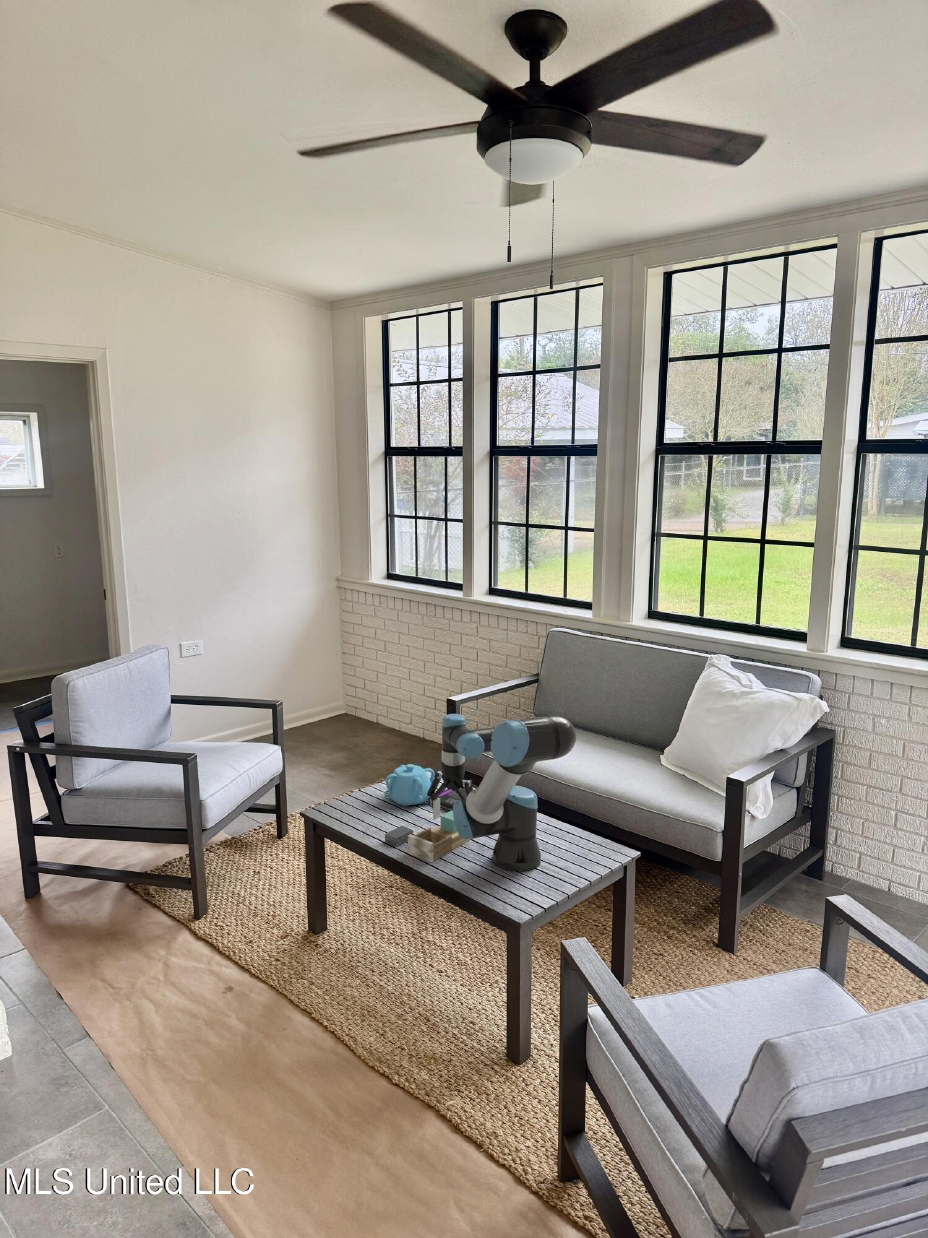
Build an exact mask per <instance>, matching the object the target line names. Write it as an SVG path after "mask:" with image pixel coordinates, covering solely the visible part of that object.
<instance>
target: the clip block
mask: <svg viewBox="0 0 928 1238" xmlns="http://www.w3.org/2000/svg"><path fill="white" fill-rule="evenodd" d="M439 826H440V829H442V830H445V831H448V832H450V833H453V834H454V833H456V832H457V829H456V826H455V822H454V817H453V811H450V812H448V811H446V813H444V814H440V825H439Z"/></svg>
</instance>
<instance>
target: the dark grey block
mask: <svg viewBox="0 0 928 1238" xmlns="http://www.w3.org/2000/svg"><path fill="white" fill-rule="evenodd" d="M410 834H411V835H414V830H413V829H411V828H409V827H406V826H405V825H404V826H403V825H401V826H399V827H397V828H394V829H392V830H390V831H388V832H386V833H385V834H384V843H386V844H388V845H390V846H393V847H395V848H397V847H399V846H401V845H403V844H405V843H408V835H410Z"/></svg>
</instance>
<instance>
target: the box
mask: <svg viewBox="0 0 928 1238" xmlns="http://www.w3.org/2000/svg"><path fill="white" fill-rule="evenodd" d="M459 790H461V788H460V789H459ZM438 798H440V810H444V811H445V812H450V811H453V805H454V803H455V802H456V801H459V800H461V798H460V796H459V794H457V793H456V791H453V790H451V789H447V788H446V789H445V790H444V791H443V792H442V793H441V795H440V796H439V797H438ZM427 803H428V805H431V806H432V799H431V797H430V798H429V799H428V801H427Z"/></svg>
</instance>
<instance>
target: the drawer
mask: <svg viewBox="0 0 928 1238" xmlns="http://www.w3.org/2000/svg"><path fill="white" fill-rule="evenodd" d="M469 841H471V839H463V838H461V837H460V835H459V834H458V832H456V833H454V834H453V833H450V832H448V831H445V830H442V829H440V825H439V826H437V827H435V828H432V827H428V828H425V829H424V830H422V831H420V832H418V833H416V834H413V835H411V834H410V835H408V841H407V854H409V855H411V856H413V857H414V856H415V857H416V858H419V859H421V860H424V861H426V862H428V863H433V862H434V861H436V860H438V859H439V858H442V857H444V856H446V855H447V854H449V853H451V852H452V851H454V850H455V849H457V848H458V847H460V846H462V845H464V844H466V843H467V842H469Z"/></svg>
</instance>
